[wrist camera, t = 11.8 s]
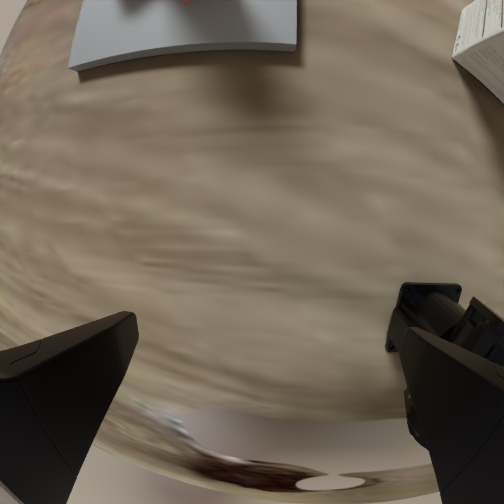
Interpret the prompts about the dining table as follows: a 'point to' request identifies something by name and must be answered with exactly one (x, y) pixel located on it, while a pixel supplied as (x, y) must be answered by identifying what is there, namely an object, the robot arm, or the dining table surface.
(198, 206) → the dining table surface
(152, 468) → the dining table surface
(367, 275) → the dining table surface
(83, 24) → the shelf board
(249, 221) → the dining table surface
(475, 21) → the supplement box
